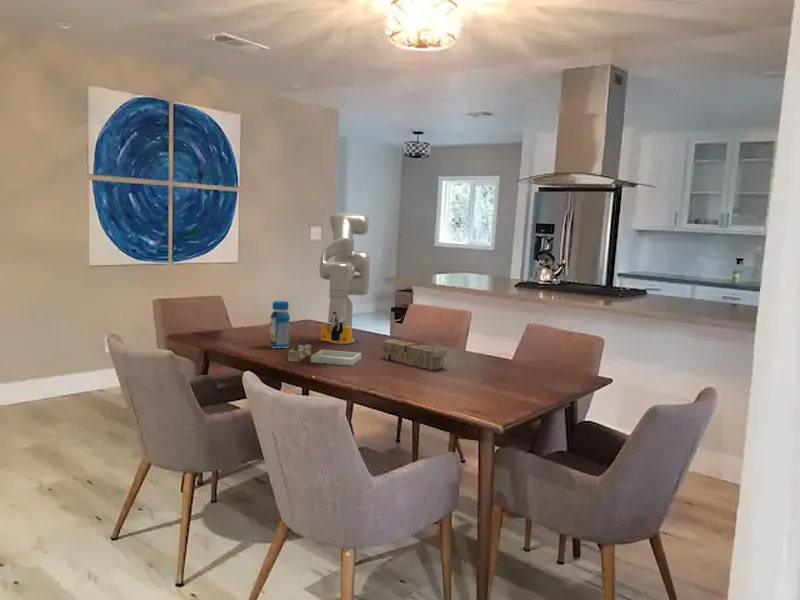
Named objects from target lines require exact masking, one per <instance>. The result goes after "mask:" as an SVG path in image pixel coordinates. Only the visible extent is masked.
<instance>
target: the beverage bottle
mask: <svg viewBox="0 0 800 600" xmlns="http://www.w3.org/2000/svg"><path fill="white" fill-rule="evenodd" d="M272 310H273V311H272V313H271V316H270V319H271V320H270V322H269V324H270V330H269V331H270V334H269V335H270V338H269V342H270V343H269V346H270V348H271V347H272V349H275V348H279V349H280V348H285V349H288V348H289V347H290V330H291V329H290V328H291V327H290V325H291V322H290V319H291V316H290V313H289V312H288V310H289V301H283V300H275V301H273V302H272ZM280 350H281V349H280Z"/></svg>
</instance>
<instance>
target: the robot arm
mask: <svg viewBox="0 0 800 600" xmlns="http://www.w3.org/2000/svg"><path fill="white" fill-rule="evenodd" d="M329 224H330V227H331V229H330V230H331V231H332V234H333V235H332V242H331V243H329V244H328V245H327V246H326V247H325V248H324V249H323V251H322V253H321V255H320V260H319V267H318V268H319V270H318V273H319V276H320V278H322V279H323V280H329V292H328V293H329V294H328V297H329V304H328V305H329V308H328V320H327V321H328V324H329V323H330V324H331V326H330V327H331V328H330V331H331V340H334V341H339V334H341V333H342V331H343V329H344V327H345V326H350V327H351V334H353V332H352V330H353V308H354V306H353V302H352V301H351V299H350V298H349V296H366V295H367V294H368V293H369V290H370V289H369V287H370V256H369V254H368V253H367V252H365V251H360V250H357V251H356V250H355V240H354V235H357V236H358V235H362V236H363V235H366V234H367V233H368V231H369V225H370V220H369V216H368V215H367V214H366V213H357V212H356V213H353V212H334V213H332V214H330V216H329ZM332 257H334V261H332V260H331V261H330V259H331V258H332ZM328 260H329V261H328ZM356 273H359V274H356ZM355 341H356V340H355V338H353V337H352V342H350V343H340V342H332V341H327V342H329V343H331V344H339V345H344V344H345V345H346V344H348V345H349V344H354V343H355Z"/></svg>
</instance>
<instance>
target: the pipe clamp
mask: <svg viewBox="0 0 800 600" xmlns="http://www.w3.org/2000/svg"><path fill="white" fill-rule="evenodd" d="M320 325H321V326H320V341H323V342H325V341H327V342H328V341H332V342H340V343H349V344H351V343H350V342H352V338H353V333H352V334H351V327H350V326H345V327H344V329H343V331H342V333H341V334H339V341H334V340H331V328H330V326H329V325H330V324H329V323H325V322H324V323H321V324H320Z"/></svg>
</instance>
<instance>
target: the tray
mask: <svg viewBox="0 0 800 600" xmlns="http://www.w3.org/2000/svg"><path fill="white" fill-rule="evenodd" d="M360 360H362V352H355V351H353V352H352V351H341V350H331V349H320V350H319V351H317V352H316V353H313V354H312V355H311V356H310V363H313V362H314V363H315V364H324V363H326V364H325V365H335V364H337V365H338V366H346V365H348V366H349V367H353V366H354V365H355V364H357V363H358V362H359V361H360ZM356 362H357V363H356Z"/></svg>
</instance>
